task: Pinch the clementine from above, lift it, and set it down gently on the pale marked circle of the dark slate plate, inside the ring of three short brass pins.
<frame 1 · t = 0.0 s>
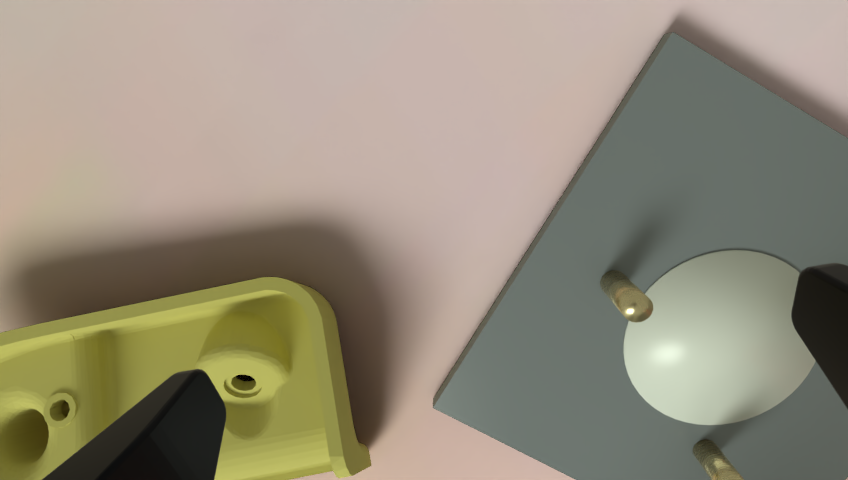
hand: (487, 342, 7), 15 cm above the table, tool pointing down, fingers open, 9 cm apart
brass pins: (712, 333, 24), resting on nest plate
plastic component: (185, 378, 26), on the table
nest plate: (712, 333, 24), on the table
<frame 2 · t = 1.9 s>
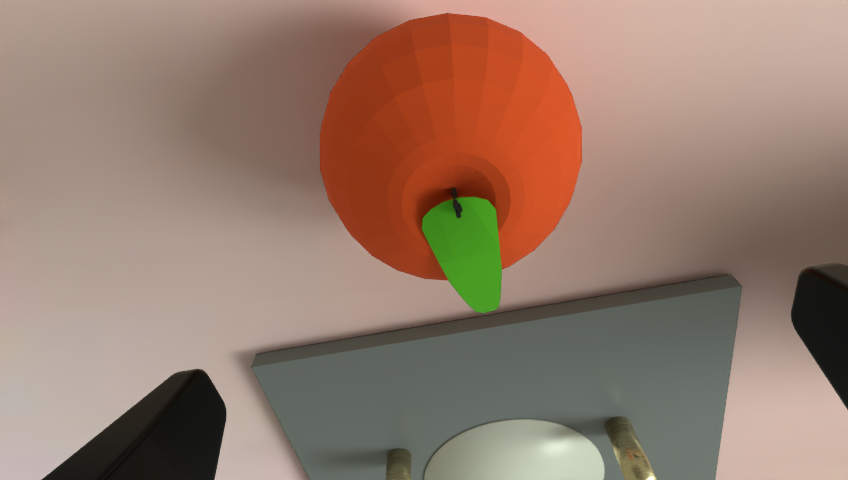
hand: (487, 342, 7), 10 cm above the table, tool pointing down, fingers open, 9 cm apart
brass pins: (510, 465, 25), resting on nest plate
clementine: (447, 131, 17), on the table
nest plate: (510, 465, 25), on the table
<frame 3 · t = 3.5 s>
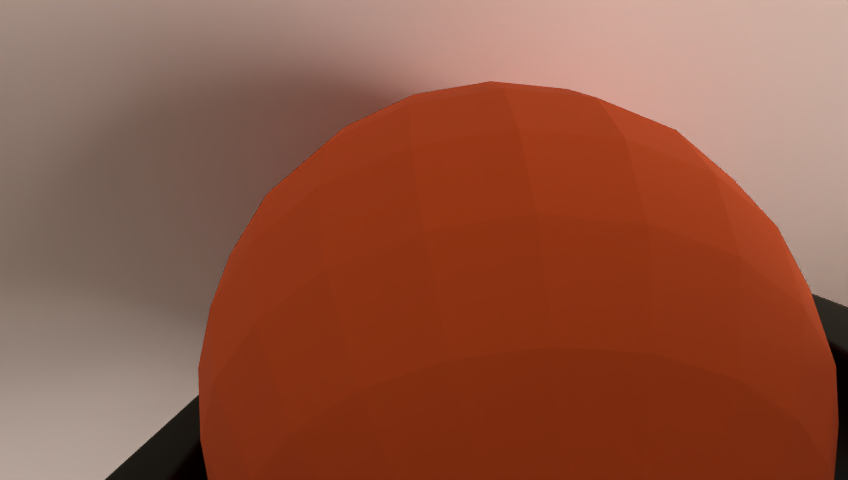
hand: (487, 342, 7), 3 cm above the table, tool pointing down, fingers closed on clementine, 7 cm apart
clementine: (474, 250, 10), on the table, touching gripper
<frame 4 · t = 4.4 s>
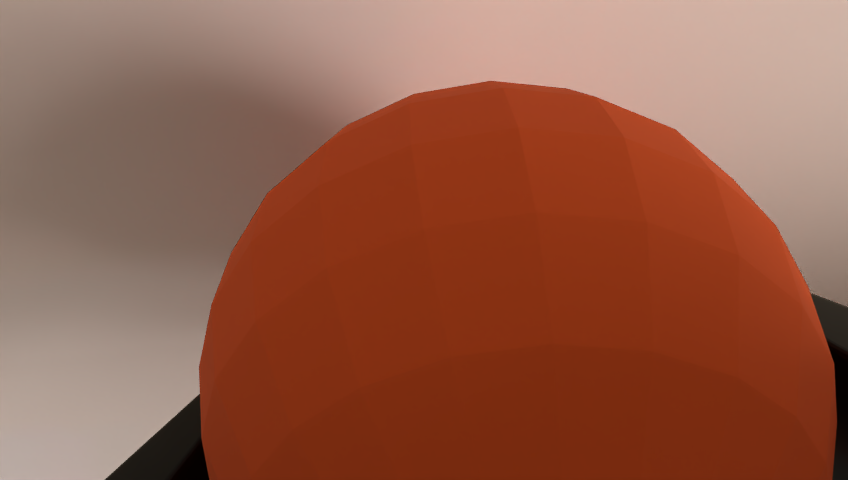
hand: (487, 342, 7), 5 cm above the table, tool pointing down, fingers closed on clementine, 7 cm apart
clementine: (474, 249, 10), point 2 cm above the table, touching gripper
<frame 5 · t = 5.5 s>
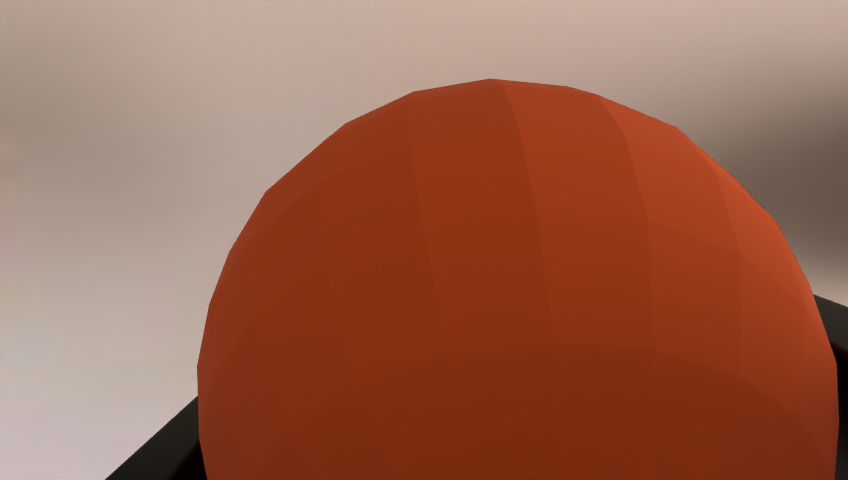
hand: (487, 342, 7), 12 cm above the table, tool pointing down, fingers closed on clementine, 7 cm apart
clementine: (473, 249, 10), point 10 cm above the table, touching gripper
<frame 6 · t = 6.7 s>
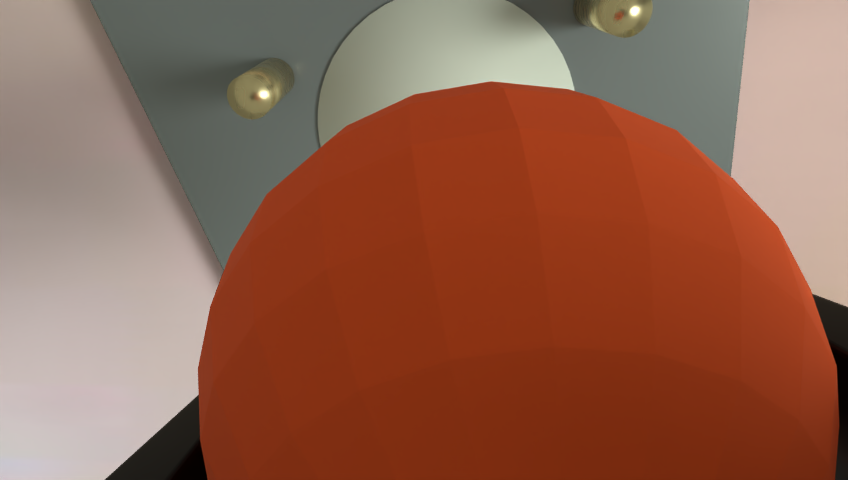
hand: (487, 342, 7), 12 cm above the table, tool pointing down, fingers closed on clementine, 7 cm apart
brass pins: (445, 124, 18), resting on nest plate
clementine: (474, 250, 10), point 9 cm above the table, touching gripper
nest plate: (445, 124, 18), on the table
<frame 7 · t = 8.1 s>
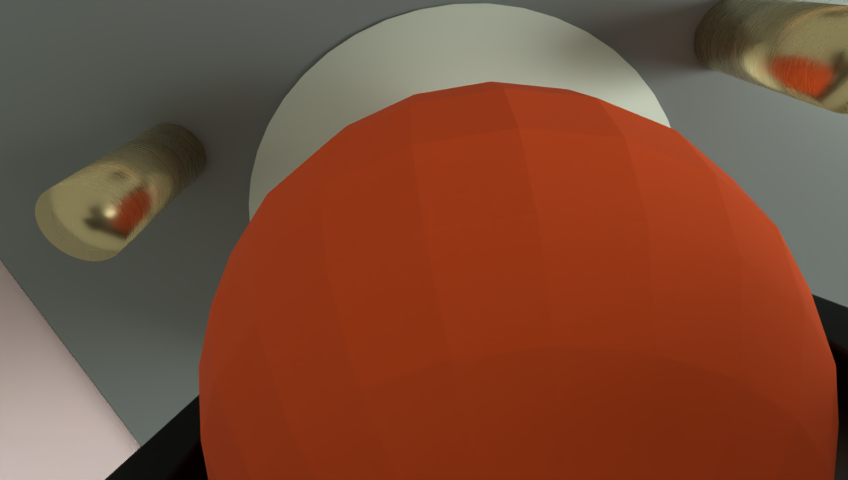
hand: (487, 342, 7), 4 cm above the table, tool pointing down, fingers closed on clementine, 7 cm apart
brass pins: (461, 219, 11), resting on nest plate
clementine: (474, 250, 10), point 2 cm above the table, touching gripper
nest plate: (461, 219, 11), on the table
when the fingers open (4 cm above the table, at t = 8.9 s): clementine stays where it is, resting on nest plate.
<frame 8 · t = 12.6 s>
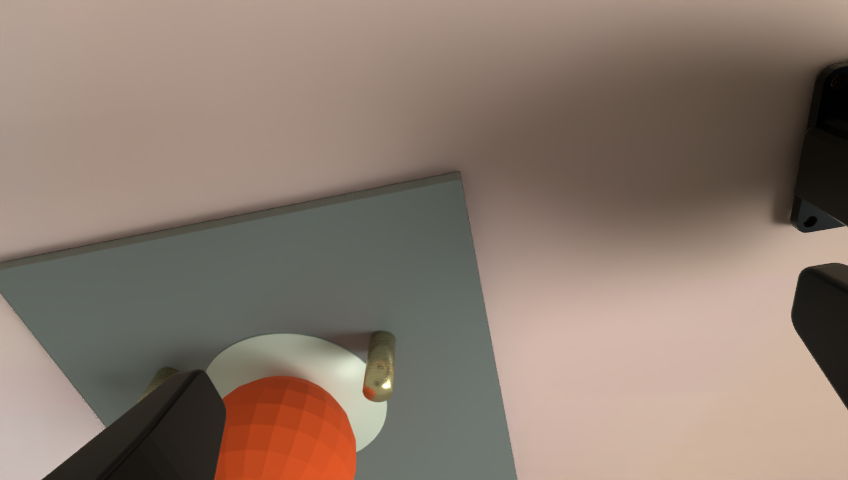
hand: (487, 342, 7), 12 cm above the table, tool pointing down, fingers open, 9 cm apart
brass pins: (299, 391, 25), resting on nest plate
clementine: (298, 401, 24), point 1 cm above the table, touching nest plate
nest plate: (299, 391, 25), on the table
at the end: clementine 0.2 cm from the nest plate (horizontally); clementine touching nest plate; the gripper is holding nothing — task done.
